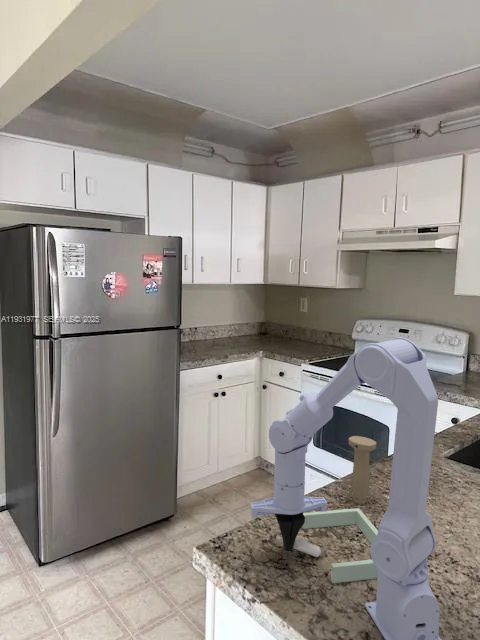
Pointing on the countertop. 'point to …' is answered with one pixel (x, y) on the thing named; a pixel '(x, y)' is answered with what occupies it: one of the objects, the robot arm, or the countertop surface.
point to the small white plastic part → (306, 547)
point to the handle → (361, 467)
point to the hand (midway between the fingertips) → (287, 548)
